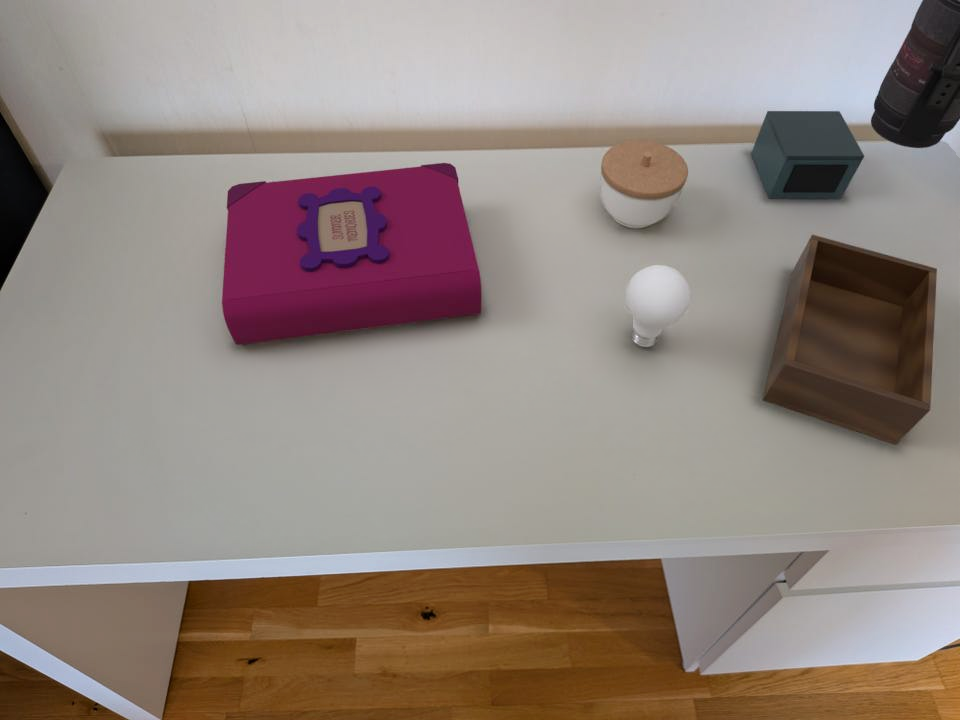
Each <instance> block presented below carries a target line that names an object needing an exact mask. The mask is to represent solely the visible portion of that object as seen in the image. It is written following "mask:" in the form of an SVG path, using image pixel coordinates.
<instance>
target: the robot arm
mask: <svg viewBox="0 0 960 720" xmlns="http://www.w3.org/2000/svg"><path fill="white" fill-rule="evenodd" d="M929 70H931V73H930V75H929V77H928V79H927V80H926V82H925V84H924V86H923V87H922V89H921V91H920V93H919V94H918V96H917V98H916V100H915V102H914V103H913V105H912V107H911V109H910V110H909V112H908V114H907V116H906V117H905V119H904V121H903V123H902V125H901V126H900V128H899V133H901V134H906V135H910V136H915V137H919V138H924V139H929V140H930V138H931V137H932V135H933V133H934V132H935V130H936V128H937V127H938V125H939V124H940V122H941V120H942V119H943V117H944V115H945V114H946V112H947V111H948V109H949V107H950V106H951V104H952V102H953V101H954V99H955V98H956V96H957V94H958V93H959V91H960V26H959V28H958V30H957V31H956V33H955V35H954V37H953V38H952V40H951V42H950V44H949V46H948V48H947V51H946V53H945V55H944V57H943V59H942V61H941V62H940V63H939V64H938V63H933V62H931V63H930V66H929Z"/></svg>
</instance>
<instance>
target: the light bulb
mask: <svg viewBox="0 0 960 720" xmlns="http://www.w3.org/2000/svg"><path fill="white" fill-rule="evenodd" d="M690 301H691V289H690V286H689V283H688V281H687V279H686V278H685V276H683V274H682V273H680V272H679V271H678V270H677V269H675V268H673V267H671V266H670V265H669V266H668V265H665V264H653V265H649V266H646V267H644V268H642V269H640V270H639V271H637V272H636V273H635V274H634V275H633V276H632V277H631V279H630V280H629V281H628V284H627V287H626V291H625V306H626V308H627V310H628V312H629V314H630V316H631V317H632V319H633V320H632V326H633V328H632V330H631V336H630V337H631V340H632V342H633V343H635V344H636V345H637V346H639V347H642V348H650V347H652V346H654V345H656V344H657V343H658V341H659V339H660V338H659V337H660V335H661V334H662V333H663V331H664V329H665V328H667V327H669V326H671V325H674V324H676V323H677V322H679V320H681V318H683V317H684V315H685V314H686V312H687V310H688V308H689V306H690Z"/></svg>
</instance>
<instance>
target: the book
mask: <svg viewBox="0 0 960 720" xmlns="http://www.w3.org/2000/svg"><path fill="white" fill-rule="evenodd" d="M462 198H463V197H462V193H461V191H460V185H459V176H458V173H457V168H456V166H454V165H453V164H451V163H448V162H440V163H439V162H438V163H430V164H421V165H420V166H411V167H404V168H403V167H402V168H391V169H384V170H373V171H364V172H353V173H346V174H333V175H325V176H317V177H307V178H306V177H305V178H296V179H287V180H277V181H269V182H267V181H265V180H264V181H253V182H252V181H251V182H244V183H238V184H235V185H232V186H231V187H230V188H229V189H228V190H227V195H226V209H227V218H226V219H227V220H226V232H225V247H224V249H225V250H224V264H223V265H224V266H223V277H222V278H223V281H222V295H221V307H222V313H223V318H224V321H225V324H226V327H227V330H228V331H229V334H230V336H231V339H232V340H233V342H234V344H235V345H236V346H241V345H249V344H256V343H257V344H258V343H264V342H272V341H280V340H289V339H295V338H303V337H310V336H317V335H327V334H334V333H335V334H336V333H341V332H351V331H356V330H357V331H358V330H364V329H372V328H380V327H387V326H395V325H403V324H410V323H418V322H419V323H420V322H426V321H433V320H442V319H450V318H457V317H464V316H465V317H467V316H471V315H473V316H474V315H480V314H482V282H481V281H482V280H481V273H480V268H479V264H478V261H477V256H476V252H475V248H474V243H473V240H472V236H471V231H470V228H469V222H468V219H467V214H466V211H465V206H464V203H463V199H462Z"/></svg>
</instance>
